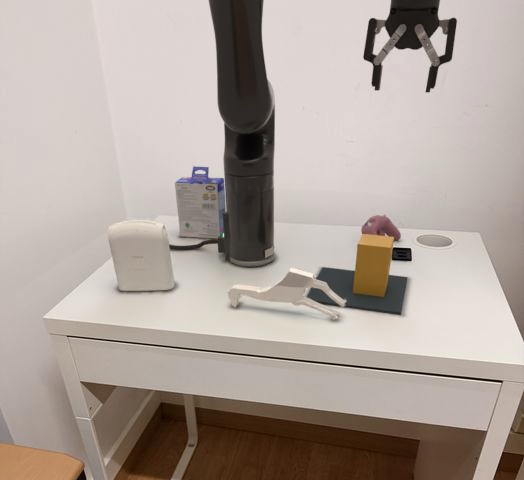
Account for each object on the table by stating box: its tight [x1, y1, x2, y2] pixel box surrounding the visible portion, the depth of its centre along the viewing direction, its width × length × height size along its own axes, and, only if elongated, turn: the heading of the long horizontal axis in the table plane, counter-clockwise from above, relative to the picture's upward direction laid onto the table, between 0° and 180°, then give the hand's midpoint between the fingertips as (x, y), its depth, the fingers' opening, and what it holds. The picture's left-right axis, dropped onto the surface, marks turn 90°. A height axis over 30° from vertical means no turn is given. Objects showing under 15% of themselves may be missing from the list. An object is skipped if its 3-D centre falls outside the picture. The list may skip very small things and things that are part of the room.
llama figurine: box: [227, 267, 347, 321], centre depth 78 cm, size 2×11×18 cm
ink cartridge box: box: [174, 166, 226, 240], centre depth 106 cm, size 10×6×14 cm, turn 78°
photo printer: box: [107, 219, 176, 292], centre depth 84 cm, size 10×4×12 cm, turn 89°
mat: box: [306, 266, 408, 316], centre depth 86 cm, size 16×14×1 cm
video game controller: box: [360, 214, 402, 241], centre depth 102 cm, size 10×5×7 cm, turn 144°
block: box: [353, 233, 395, 297], centre depth 82 cm, size 5×5×9 cm
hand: (402, 91), depth 83 cm, fingers open, 8 cm apart
